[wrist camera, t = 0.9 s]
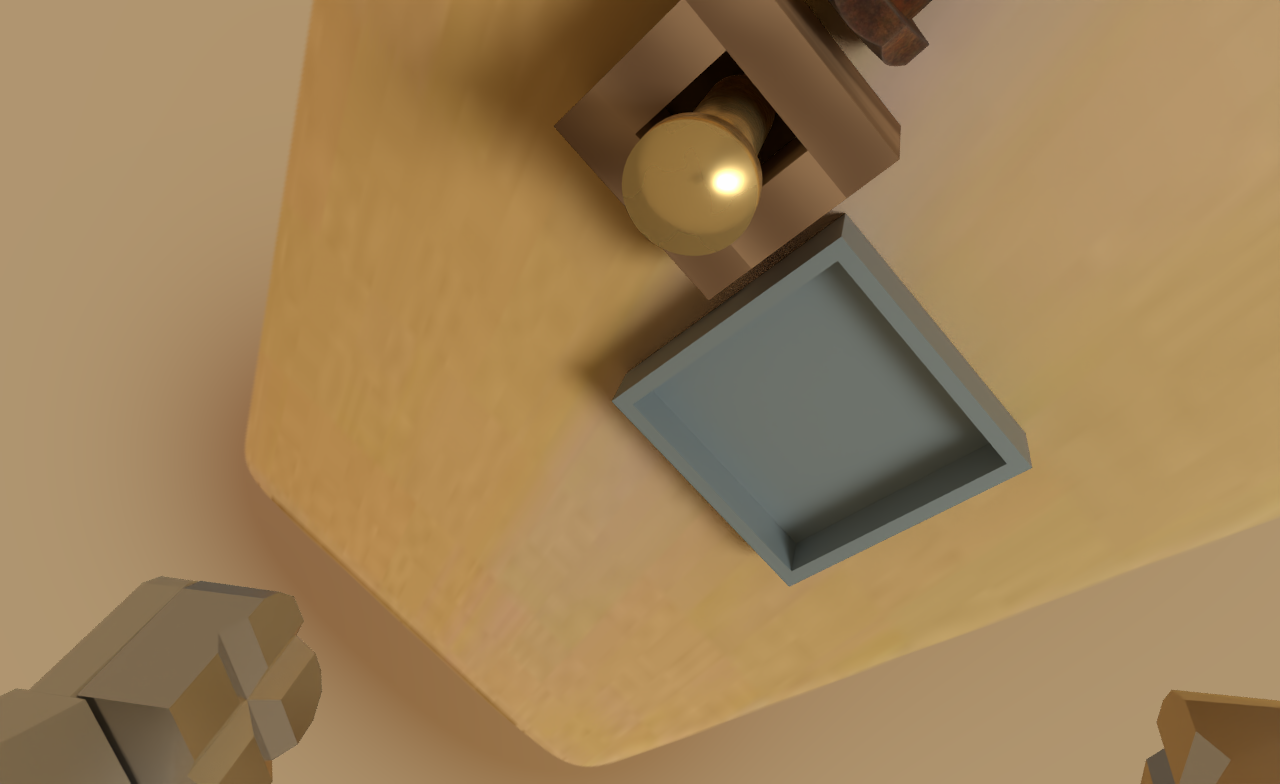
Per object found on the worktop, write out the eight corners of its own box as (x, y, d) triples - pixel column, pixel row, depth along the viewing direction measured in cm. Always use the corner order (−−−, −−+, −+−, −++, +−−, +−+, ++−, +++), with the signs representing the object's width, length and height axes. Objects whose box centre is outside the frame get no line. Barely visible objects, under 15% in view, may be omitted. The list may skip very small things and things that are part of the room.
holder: (753, -64, 37) (733, -52, 33) (900, 125, 39) (899, 159, 35) (588, 98, 42) (553, 126, 38) (727, 257, 44) (708, 300, 40)
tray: (845, 213, 42) (841, 236, 39) (1025, 433, 45) (1032, 467, 42) (626, 373, 49) (611, 401, 47) (794, 551, 52) (789, 586, 50)
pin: (745, 31, 39) (693, 90, 29) (815, 118, 40) (786, 201, 31) (666, 105, 41) (594, 181, 32) (733, 184, 42) (683, 280, 33)
